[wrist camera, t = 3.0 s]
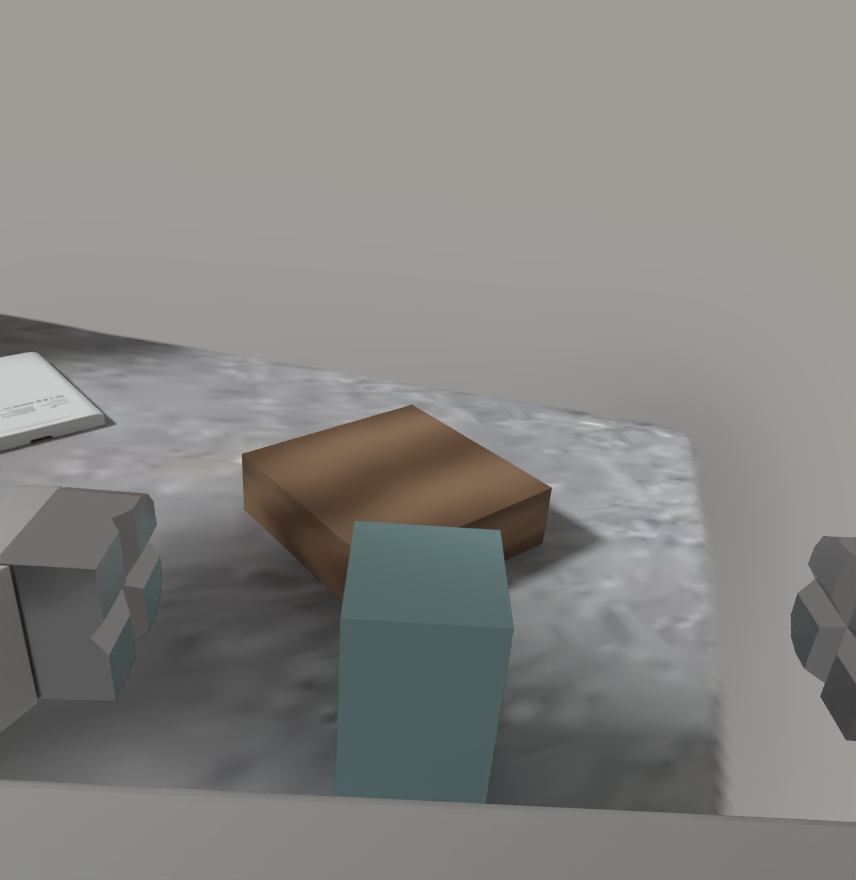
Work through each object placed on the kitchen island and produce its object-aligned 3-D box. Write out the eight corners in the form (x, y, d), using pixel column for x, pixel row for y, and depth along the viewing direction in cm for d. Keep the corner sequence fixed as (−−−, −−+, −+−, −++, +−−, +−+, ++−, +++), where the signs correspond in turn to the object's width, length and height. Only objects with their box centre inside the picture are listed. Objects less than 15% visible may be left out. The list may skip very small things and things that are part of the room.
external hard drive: (40, 369, 61) (107, 432, 53) (-81, 394, 56) (-28, 466, 48) (37, 350, 60) (104, 410, 52) (-86, 372, 55) (-33, 443, 47)
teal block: (333, 843, 27) (340, 618, 23) (347, 729, 32) (354, 521, 27) (478, 851, 28) (513, 628, 23) (471, 736, 32) (500, 530, 27)
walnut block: (244, 514, 45) (241, 453, 44) (408, 459, 53) (412, 404, 51) (368, 632, 38) (371, 564, 36) (541, 548, 45) (551, 487, 43)
